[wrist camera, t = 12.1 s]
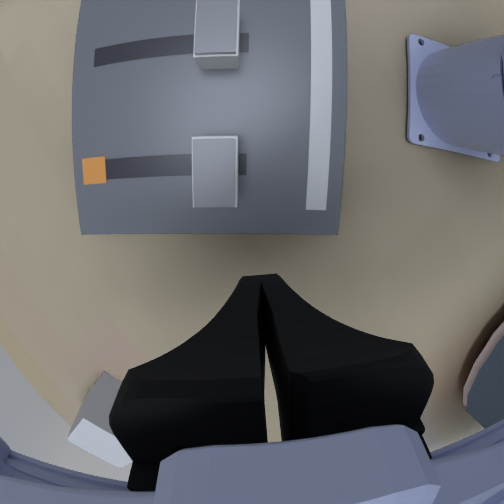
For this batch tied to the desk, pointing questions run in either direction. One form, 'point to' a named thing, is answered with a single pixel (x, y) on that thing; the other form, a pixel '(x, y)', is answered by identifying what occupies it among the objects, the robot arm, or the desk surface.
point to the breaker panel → (209, 113)
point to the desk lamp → (487, 382)
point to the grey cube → (99, 423)
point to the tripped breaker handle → (215, 171)
